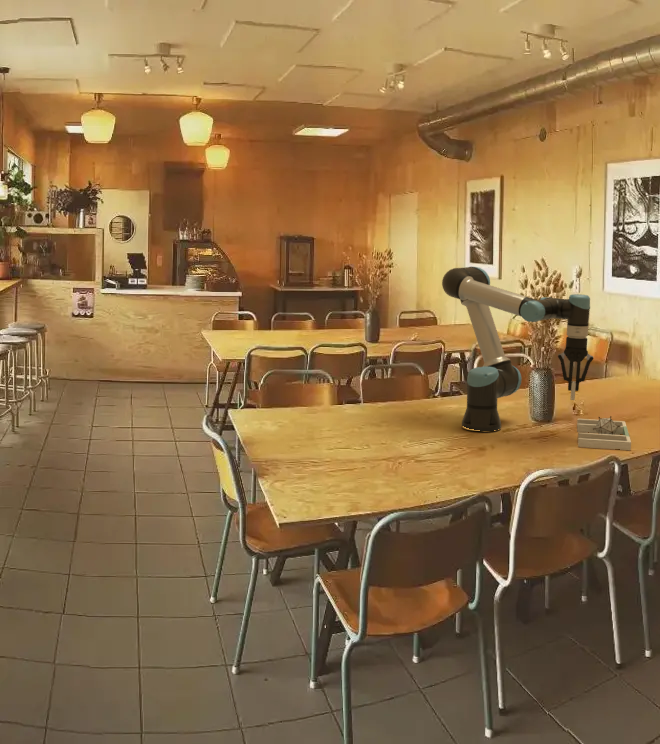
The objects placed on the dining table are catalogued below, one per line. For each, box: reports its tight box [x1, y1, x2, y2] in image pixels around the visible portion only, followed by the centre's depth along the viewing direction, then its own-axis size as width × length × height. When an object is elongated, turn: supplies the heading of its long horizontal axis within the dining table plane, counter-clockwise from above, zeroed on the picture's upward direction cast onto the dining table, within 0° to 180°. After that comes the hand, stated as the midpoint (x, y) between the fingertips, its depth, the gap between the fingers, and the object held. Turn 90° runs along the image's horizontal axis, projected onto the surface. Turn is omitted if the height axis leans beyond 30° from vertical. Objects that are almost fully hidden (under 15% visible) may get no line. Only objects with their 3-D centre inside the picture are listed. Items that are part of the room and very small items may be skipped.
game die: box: [593, 415, 620, 435], centre depth 303 cm, size 9×8×10 cm
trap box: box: [576, 418, 632, 451], centre depth 304 cm, size 18×32×3 cm, turn 164°
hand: (572, 399), depth 305 cm, fingers closed
